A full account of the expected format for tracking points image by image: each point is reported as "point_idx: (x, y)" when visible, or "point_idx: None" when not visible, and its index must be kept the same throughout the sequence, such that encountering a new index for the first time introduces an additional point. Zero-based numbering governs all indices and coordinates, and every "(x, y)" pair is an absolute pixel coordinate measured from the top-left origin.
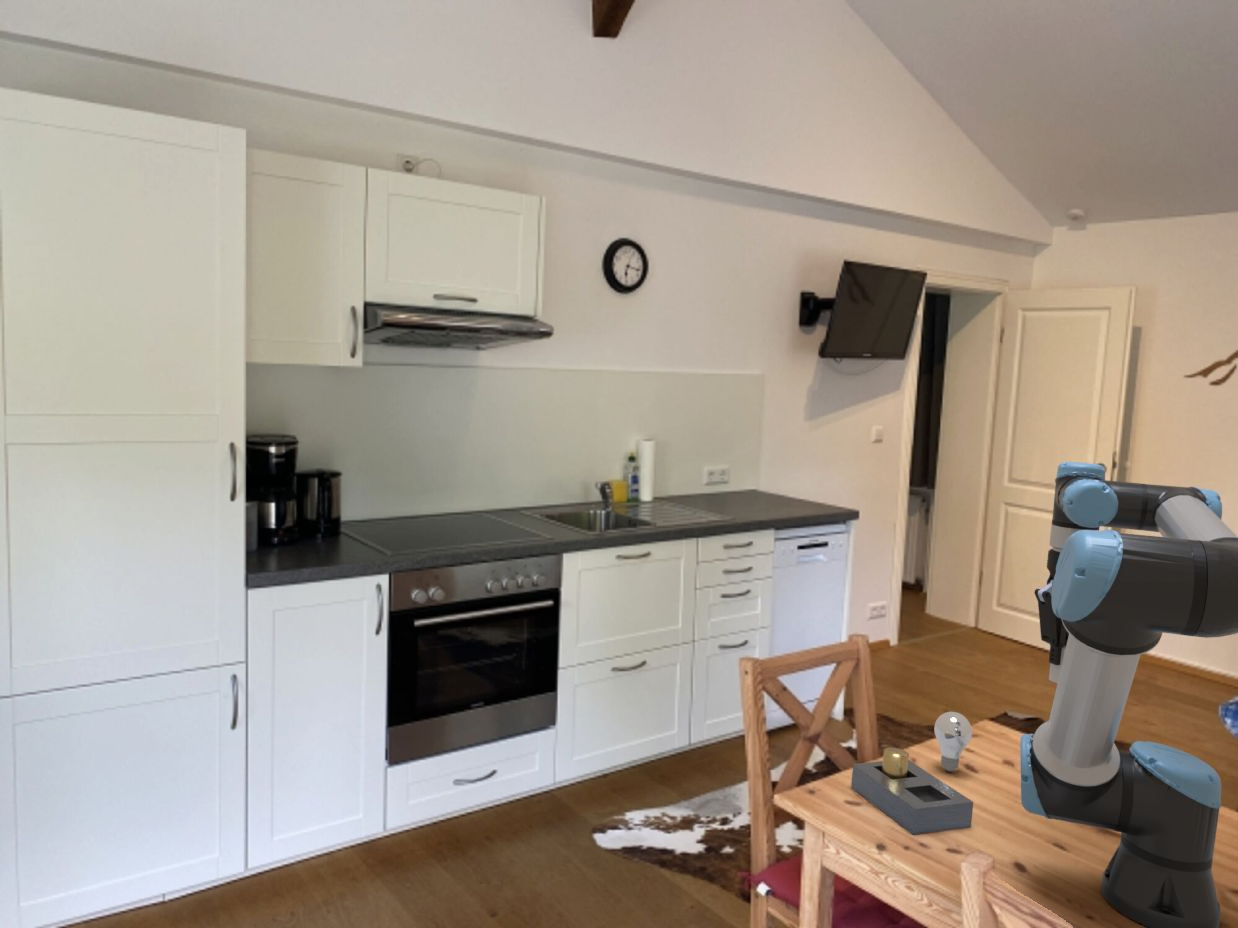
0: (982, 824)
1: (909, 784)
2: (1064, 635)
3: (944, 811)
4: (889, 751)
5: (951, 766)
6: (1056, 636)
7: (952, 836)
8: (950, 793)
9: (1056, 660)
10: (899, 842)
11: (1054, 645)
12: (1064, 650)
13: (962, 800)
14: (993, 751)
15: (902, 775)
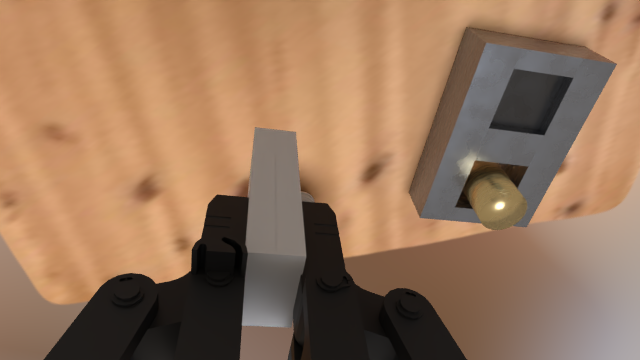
0: (435, 25)
1: (520, 142)
2: (322, 341)
3: (545, 49)
4: (511, 217)
5: (307, 196)
6: (403, 339)
7: (532, 13)
8: (489, 88)
9: (329, 219)
10: (632, 35)
11: (367, 292)
12: (304, 247)
13: (499, 56)
14: (136, 230)
15: (496, 171)
